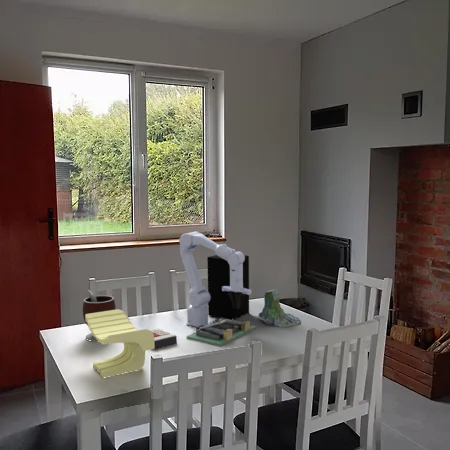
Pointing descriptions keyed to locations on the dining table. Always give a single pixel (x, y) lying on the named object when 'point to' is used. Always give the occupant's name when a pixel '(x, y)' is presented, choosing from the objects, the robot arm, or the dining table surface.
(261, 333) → the dining table surface
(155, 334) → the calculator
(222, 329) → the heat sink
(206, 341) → the circuit board
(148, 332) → the slatted curved stool
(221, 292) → the video game console
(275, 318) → the tree stump
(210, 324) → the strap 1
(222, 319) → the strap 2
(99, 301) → the mate gourd
